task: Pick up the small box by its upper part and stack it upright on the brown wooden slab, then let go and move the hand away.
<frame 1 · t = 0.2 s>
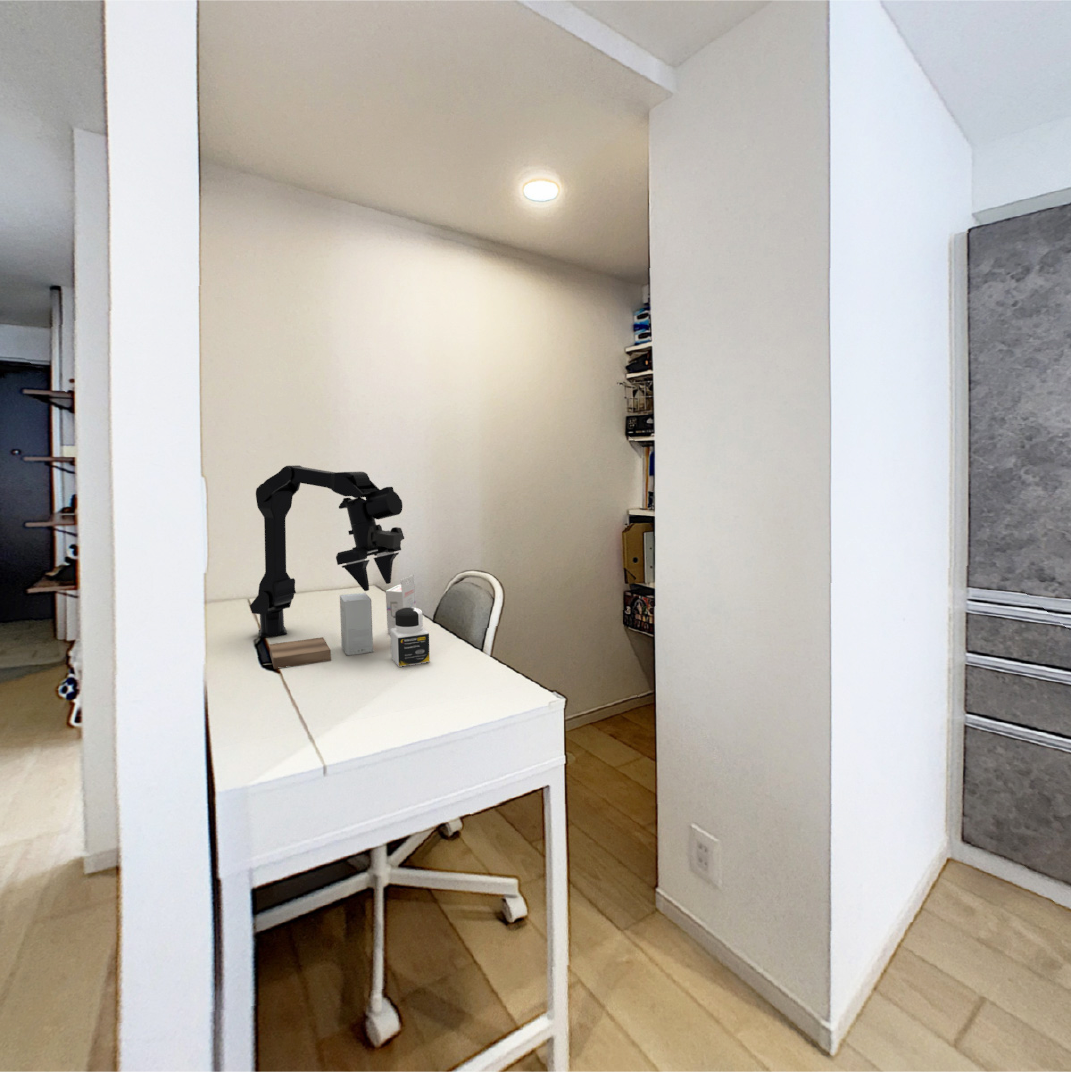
hand: (378, 587, 143), 15 cm above the table, tool pointing down, fingers open, 9 cm apart
small box: (357, 650, 144), on the table
brown wooden slab: (300, 657, 138), on the table
ink cartridge box: (401, 630, 161), on the table
medicine bottle: (410, 661, 136), on the table
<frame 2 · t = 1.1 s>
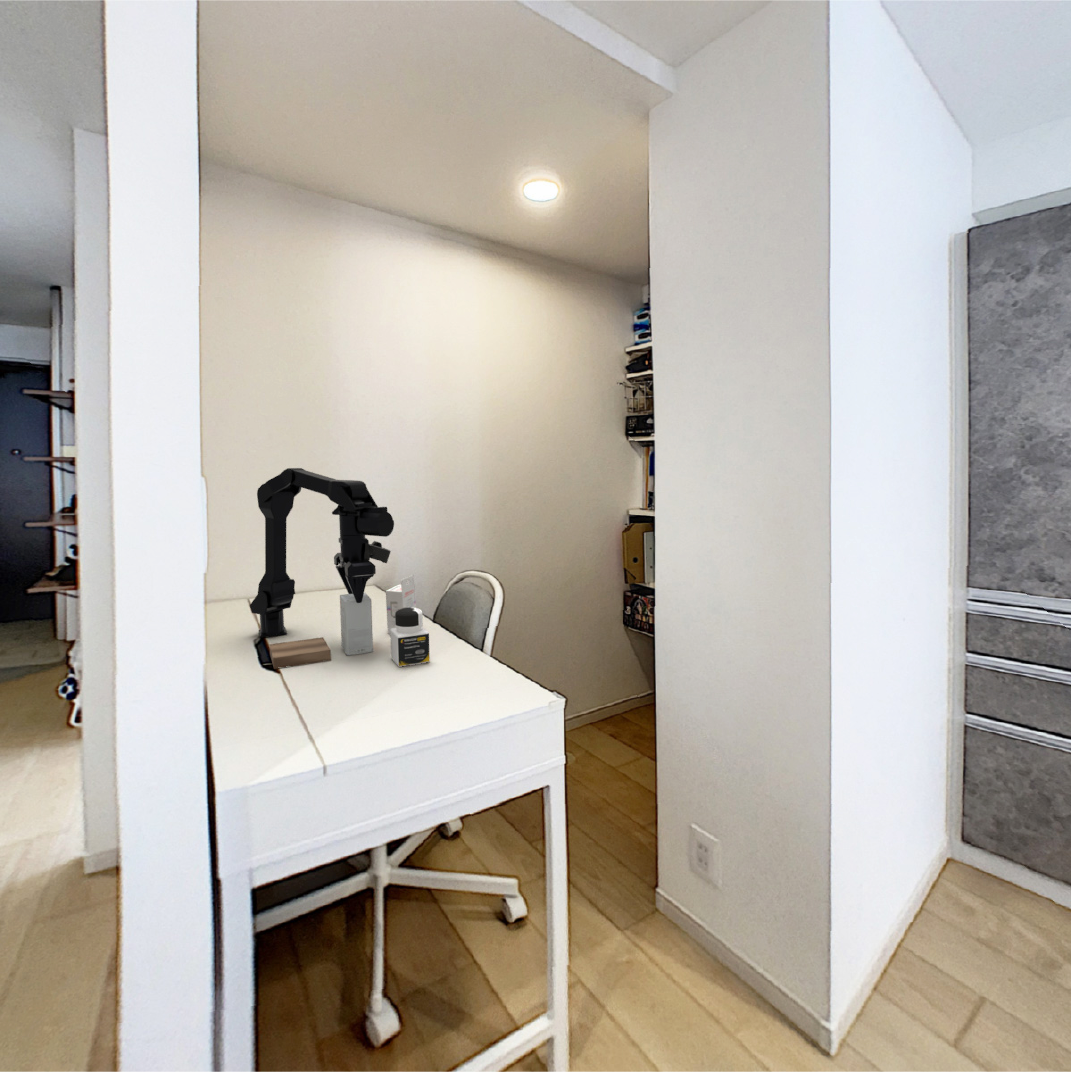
hand: (355, 598, 143), 12 cm above the table, tool pointing down, fingers open, 9 cm apart
nothing on the table moved.
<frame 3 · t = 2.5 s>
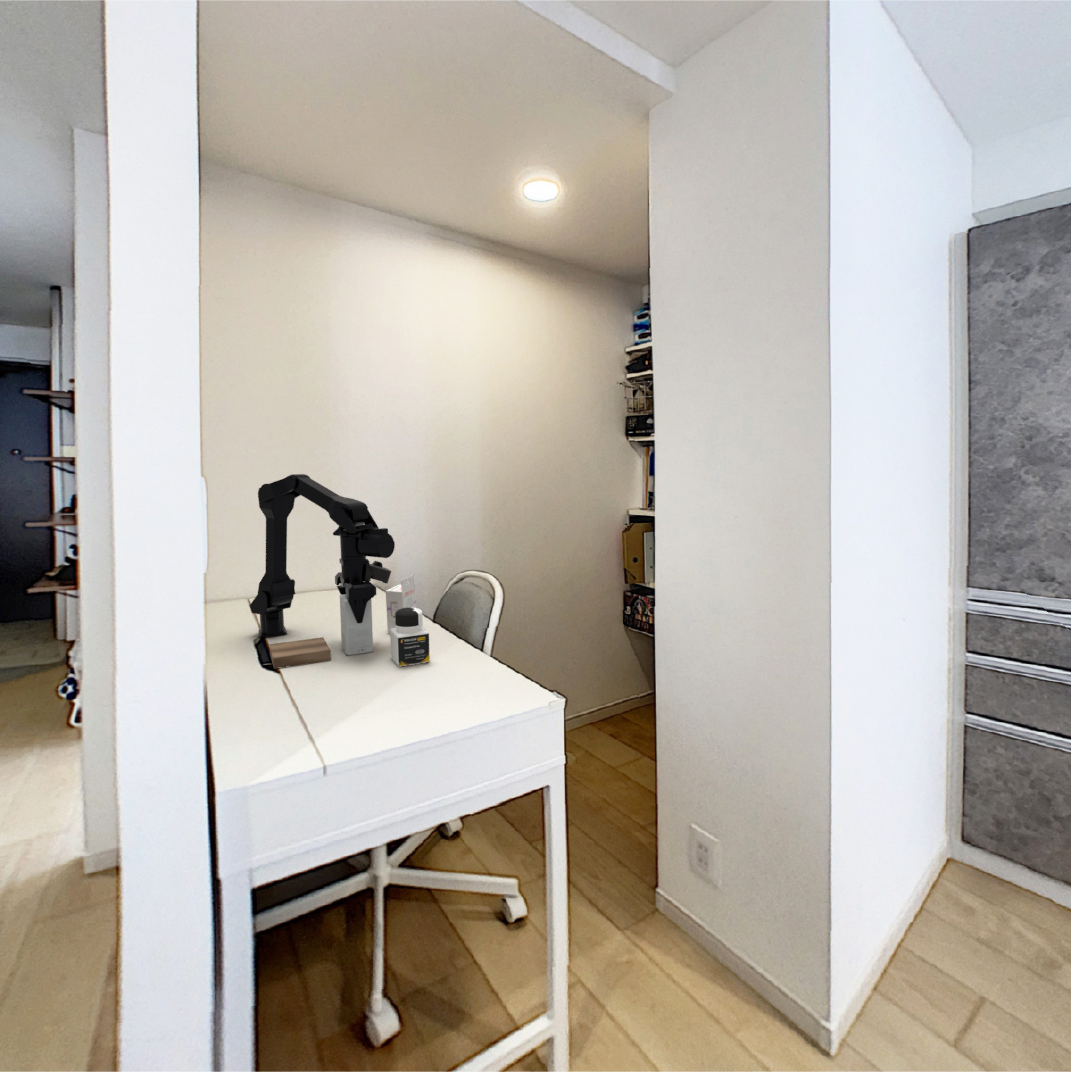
hand: (356, 618, 143), 8 cm above the table, tool pointing down, fingers closed on small box, 8 cm apart
small box: (357, 649, 144), on the table, touching gripper
everything else where it was.
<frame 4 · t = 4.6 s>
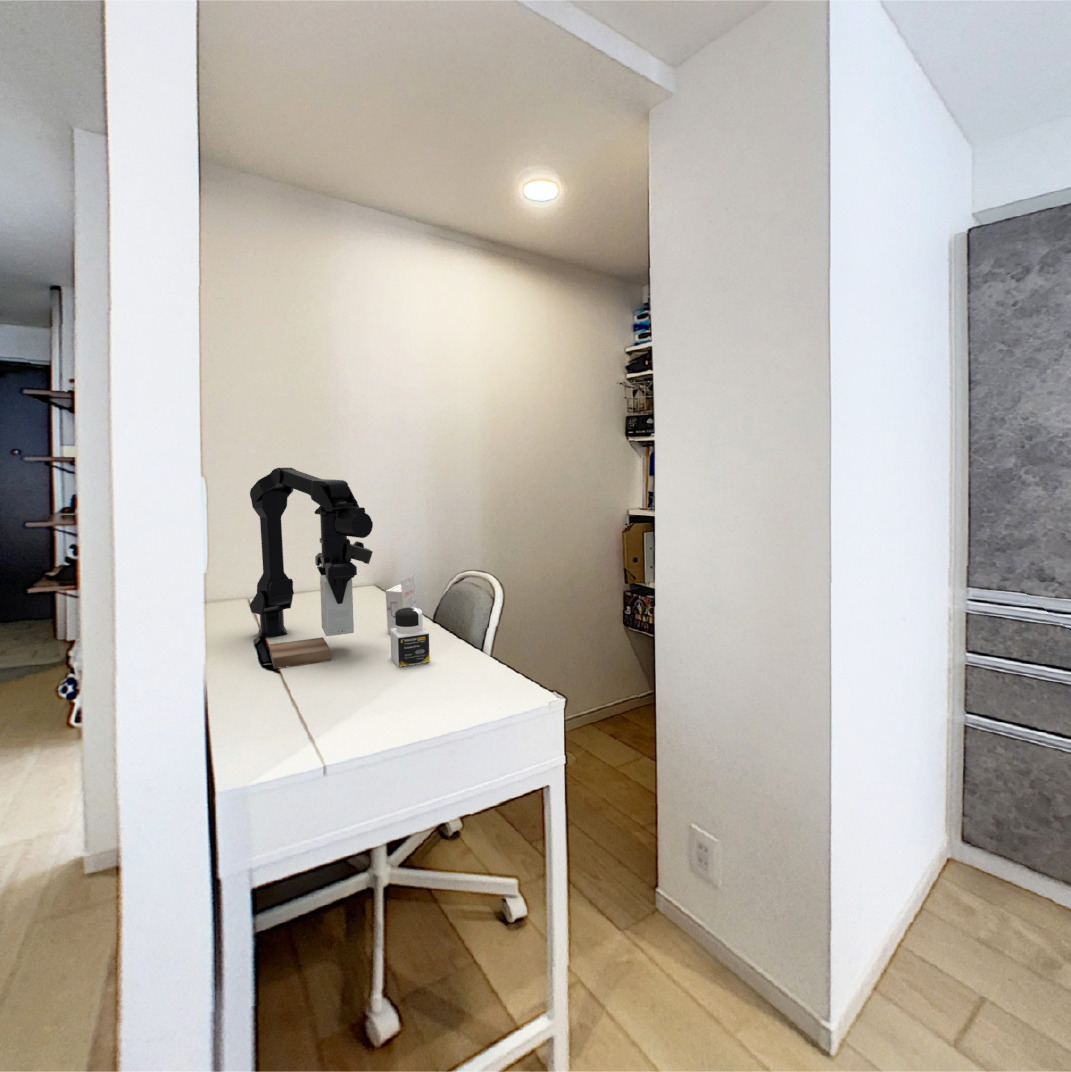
hand: (336, 599, 141), 13 cm above the table, tool pointing down, fingers closed on small box, 8 cm apart
small box: (337, 631, 142), point 5 cm above the table, touching gripper
everything else where it was.
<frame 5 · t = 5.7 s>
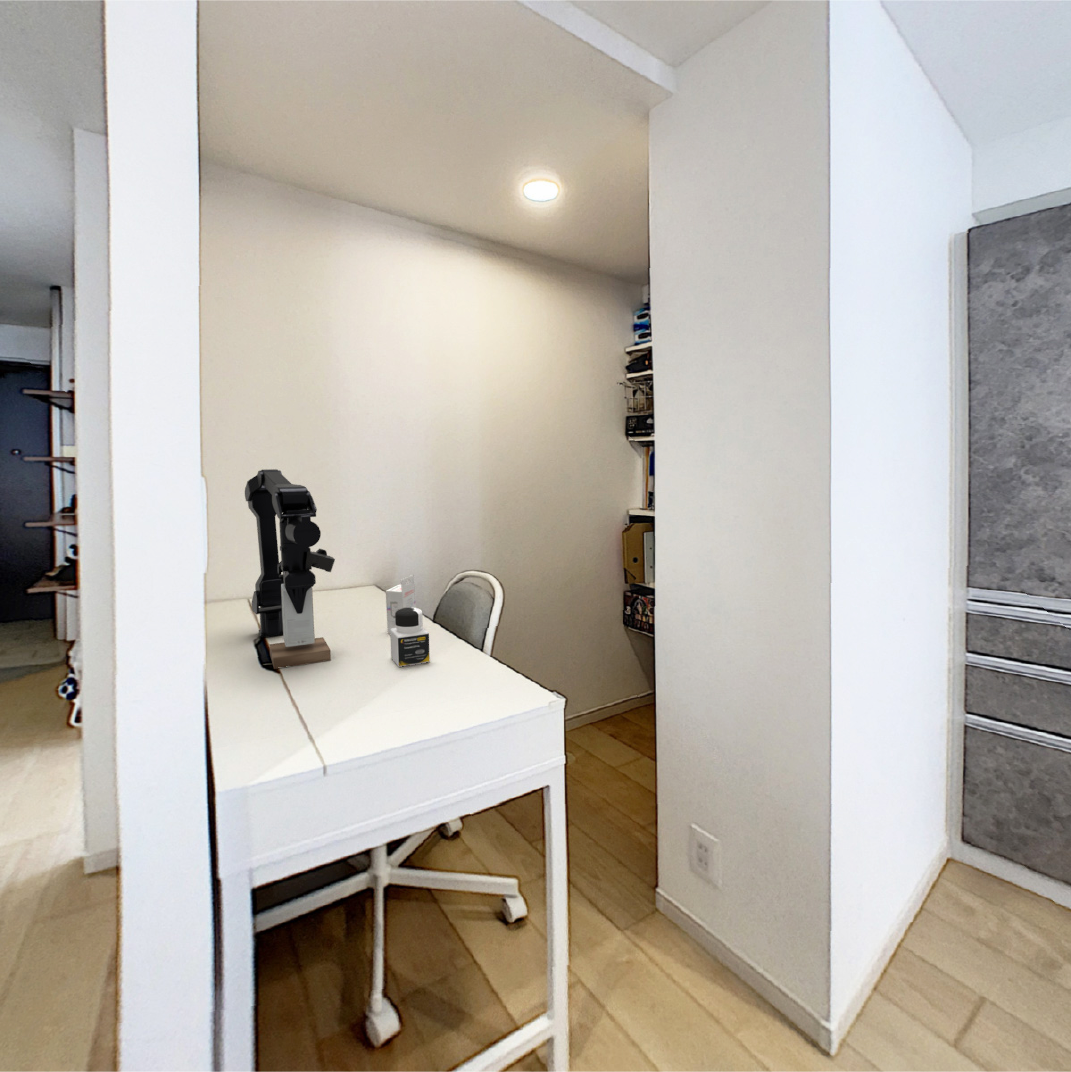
hand: (297, 609, 137), 11 cm above the table, tool pointing down, fingers closed on small box, 8 cm apart
small box: (299, 641, 138), point 4 cm above the table, touching gripper
everything else where it was.
when the fingers open (11 cm above the table, at t = 6.8 s): small box stays where it is, resting on brown wooden slab.
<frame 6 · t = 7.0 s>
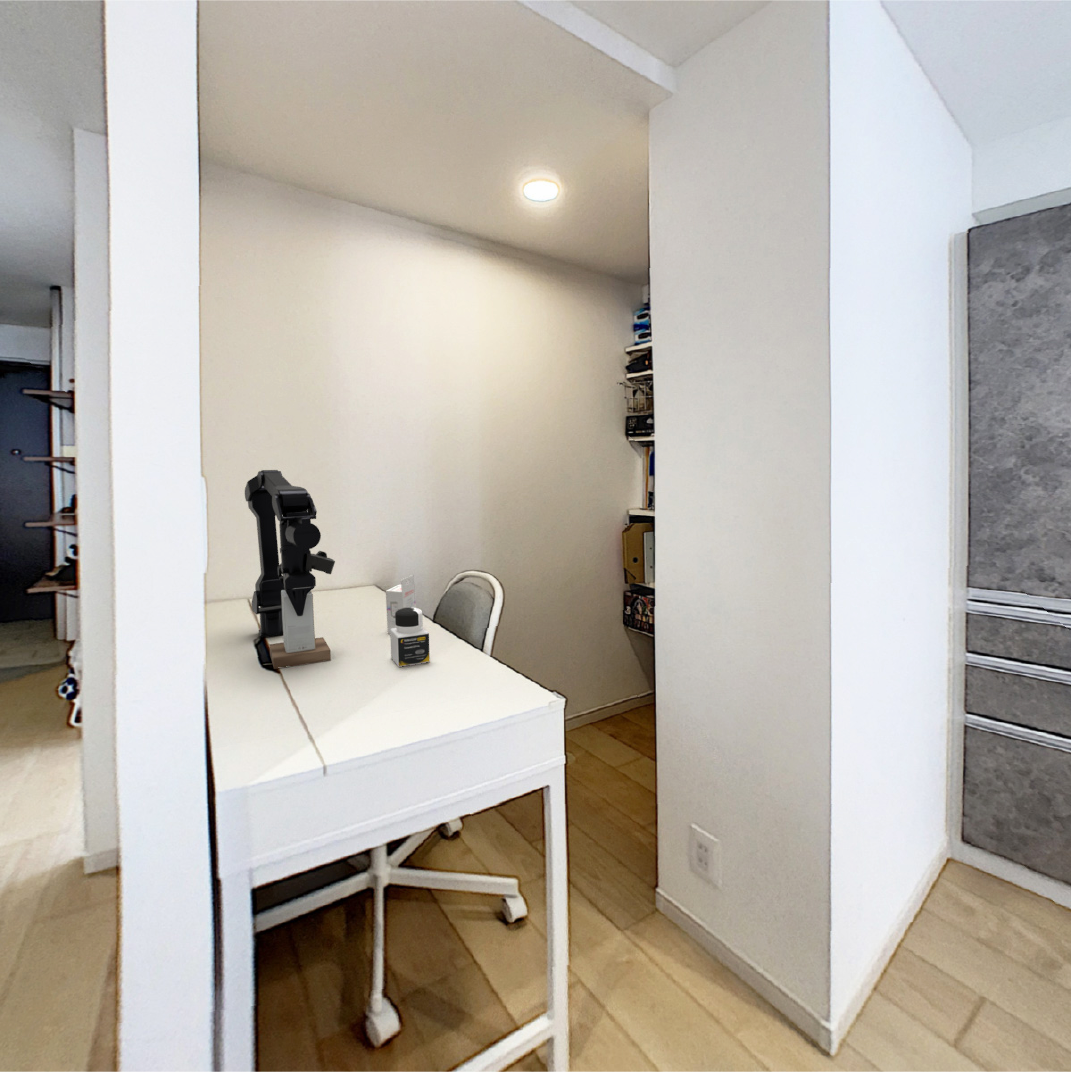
hand: (297, 611, 137), 11 cm above the table, tool pointing down, fingers open, 9 cm apart
small box: (299, 647, 138), point 2 cm above the table, touching brown wooden slab
everything else where it was.
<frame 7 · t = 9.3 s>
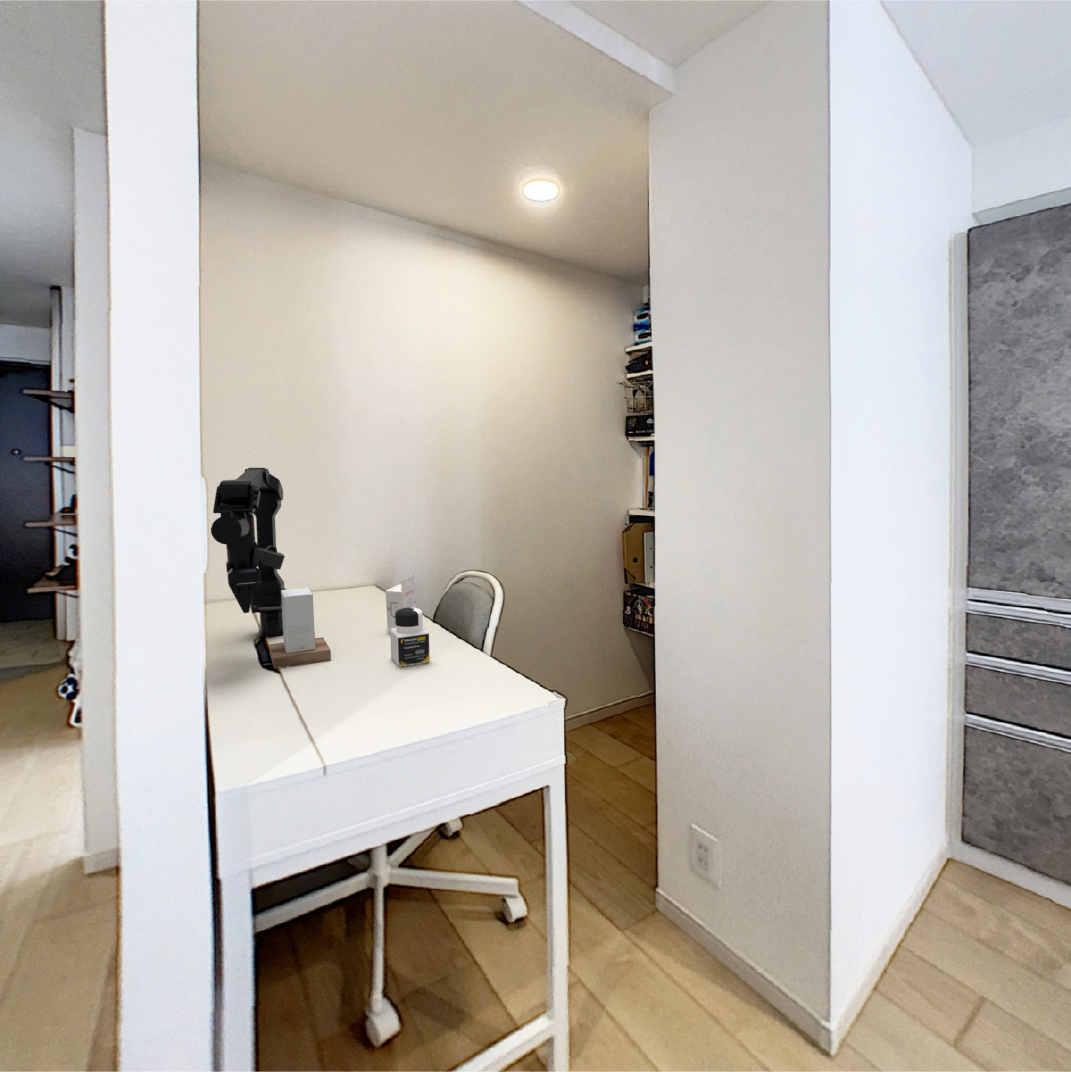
hand: (245, 608, 132), 13 cm above the table, tool pointing down, fingers open, 9 cm apart
nothing on the table moved.
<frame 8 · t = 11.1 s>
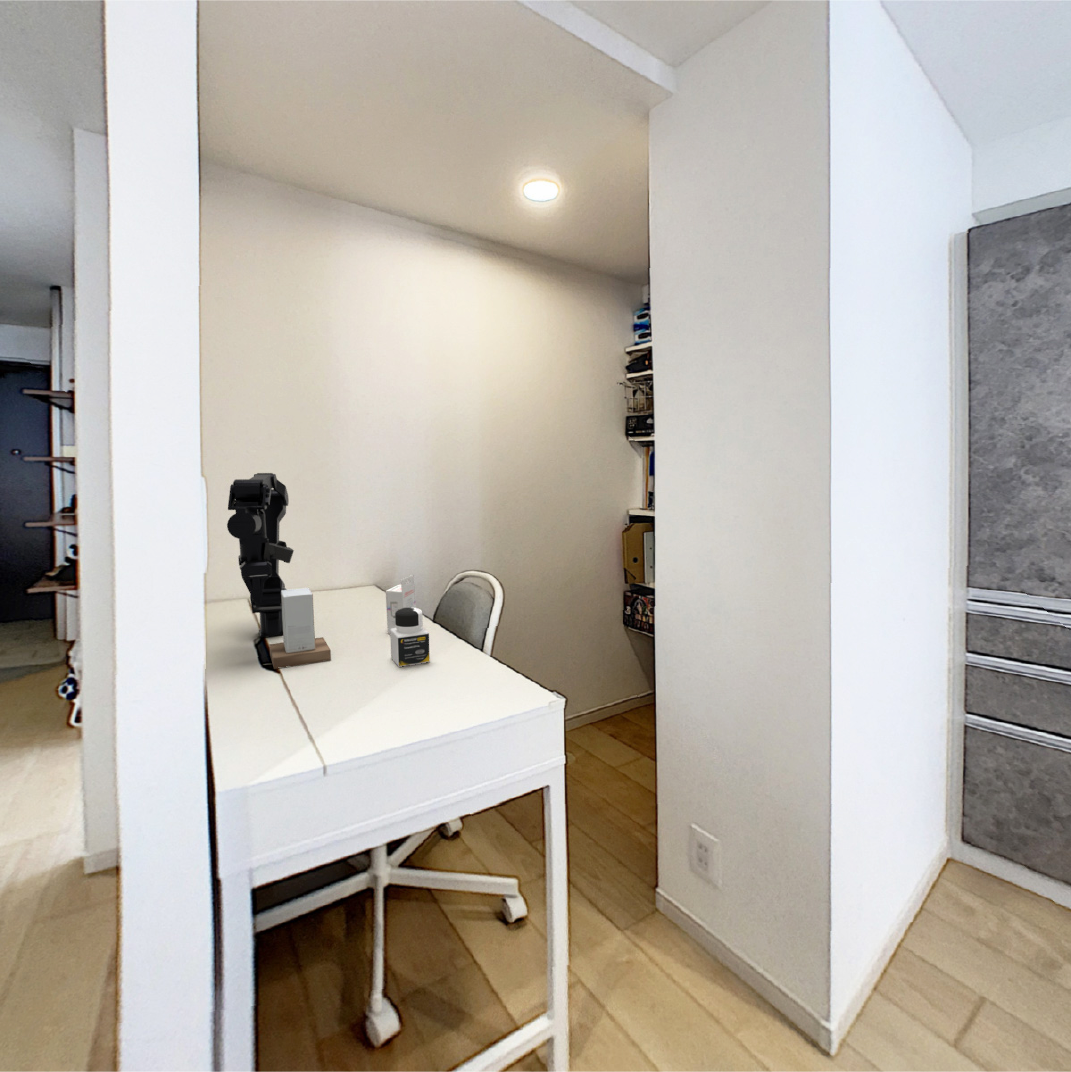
hand: (256, 599, 140), 13 cm above the table, tool pointing down, fingers open, 9 cm apart
nothing on the table moved.
at the end: small box 0.1 cm off-centre on the brown wooden slab, point 2.3 cm above the brown wooden slab's base; small box tilted 0°; the gripper is holding nothing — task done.
